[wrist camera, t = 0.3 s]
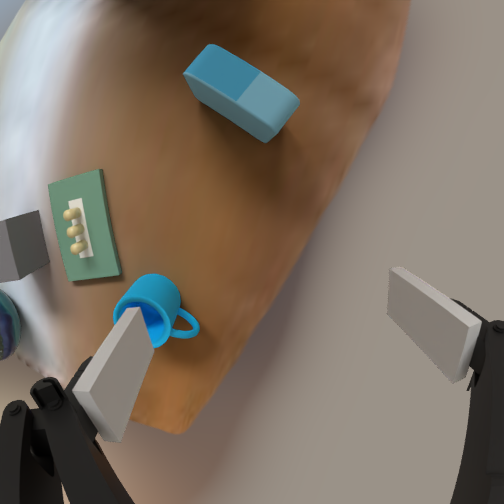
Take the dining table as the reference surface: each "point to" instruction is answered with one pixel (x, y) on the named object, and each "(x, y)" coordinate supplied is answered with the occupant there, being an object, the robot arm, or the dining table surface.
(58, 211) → the header board
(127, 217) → the dining table surface
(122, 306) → the mug
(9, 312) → the vase
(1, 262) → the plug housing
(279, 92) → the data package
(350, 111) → the dining table surface
